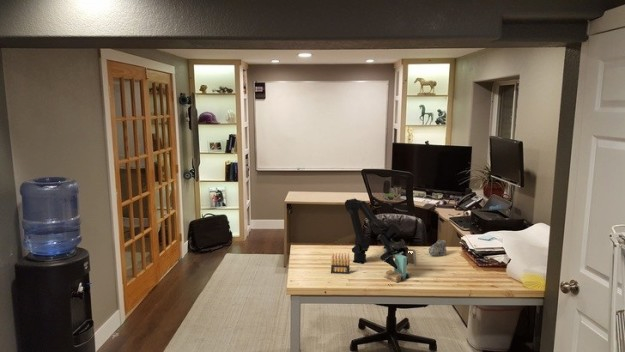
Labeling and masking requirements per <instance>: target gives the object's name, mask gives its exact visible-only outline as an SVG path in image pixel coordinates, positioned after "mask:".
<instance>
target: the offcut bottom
mask: <svg viewBox="0 0 625 352" xmlns="http://www.w3.org/2000/svg"><path fill="white" fill-rule="evenodd" d="M384 277H385V278H384V279H387V280H389V279H390V280H389V281H391V280H392V282H394V281H395V282H394V283H396V282H399V281H401V278H400V279H397V280H395V279H393V278H390V277H388V276H386V275H385V276H384ZM399 283H400V282H399Z"/></svg>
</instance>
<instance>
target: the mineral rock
mask: <svg viewBox="0 0 625 352" xmlns="http://www.w3.org/2000/svg"><path fill="white" fill-rule="evenodd" d="M446 247H447V241H446V240H445V239H443V240H441V239H438V240H437V241H436V242H435V243H433V244H432V245H431V246H430V247H429V248H428V254H429V255H430V256H434V257H435V256H437V257H438V256H443V255H446V254H447V248H446Z"/></svg>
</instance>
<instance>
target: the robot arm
mask: <svg viewBox="0 0 625 352" xmlns="http://www.w3.org/2000/svg"><path fill="white" fill-rule="evenodd" d="M344 206H345V210H346V212H347V213H349V214H350V219H351V222H352V226H353V230H354V234H355V239H354V246H353V247H352V248H351V252H352V253H353V260H352V263H356V264H361V265H363V264H364V263H365V262H366V261H367V254H366V253H367V252H368V250H369V248H370V244H371V243H370V240H369V237H366V236H365V234H364V231H363V226H362V222H361V219H360V215H359V214H360V213H359V210H360V211H361V213H362V214H363V215H364V217H365V218H366V219H367V221H368V222H369V224H370V228H371V231H372V232H373V233H374V234H375V235H376V234H377V237H376V240H377V241H379V240H380V242H381V243H382V244H383V247H382V249H384V250H385V248H386V250H387V252H385V251H384V252H383V254H381V255H380V258H379V259H380V260H381V261H380V262H383V263H386V264H388V265H390V266H391V267H392V268H393V269H394V268H395V269H397V268H398V267H397V265H396V263H395V259H393V255H396V254H400V255H403V256H406V257H407V255H406V254H407V252H408V250H409V249H410V248H408V246H407V245H406V241H405V240H404V239H403V238H402V239H399V241H398V242H396V241H395V240H393V239H394V238H395V237H397V235H399V234H400V232H401V231H400V228H399V226H397V225H395V224H394V223H390V224H389V225H387V224H386V223H384V221H382V219H380V218H378V217H377V216H376V215H375V214H374V212H373V210H371V208H370V206H369V205H368V204H367V201H365V200H362V199H357V198H350V199H346V200H345V202H344ZM384 260H385V261H384ZM408 265H409V264H408V260H407V266H408Z"/></svg>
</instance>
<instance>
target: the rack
mask: <svg viewBox="0 0 625 352" xmlns="http://www.w3.org/2000/svg"><path fill="white" fill-rule="evenodd" d="M383 278H384V279H386V278H385V276H383ZM409 279H411V273H409V272H406V278H404V276H402V277H401V281H399V282H395V281H392V280H390V279H388V280H389V281H392V282H394V283H396V284H399V283H403V282H404V281H407V280H409Z"/></svg>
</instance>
